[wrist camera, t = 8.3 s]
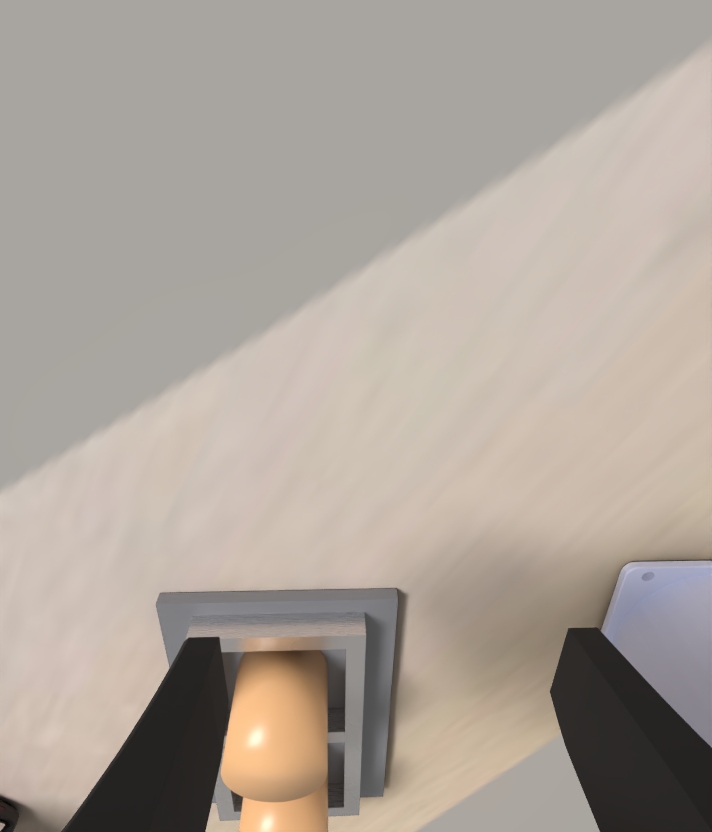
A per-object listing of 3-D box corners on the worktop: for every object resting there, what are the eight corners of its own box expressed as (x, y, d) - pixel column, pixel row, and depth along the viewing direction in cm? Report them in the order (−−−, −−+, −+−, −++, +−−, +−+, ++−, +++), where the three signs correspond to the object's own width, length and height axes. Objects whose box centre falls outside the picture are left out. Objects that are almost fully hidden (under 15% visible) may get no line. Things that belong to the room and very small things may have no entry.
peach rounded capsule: (329, 638, 23) (329, 741, 20) (326, 696, 25) (325, 801, 21) (236, 637, 23) (217, 742, 19) (240, 696, 25) (223, 803, 21)
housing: (396, 588, 23) (412, 699, 19) (382, 784, 30) (391, 899, 26) (159, 593, 23) (117, 708, 18) (201, 791, 30) (178, 909, 25)
